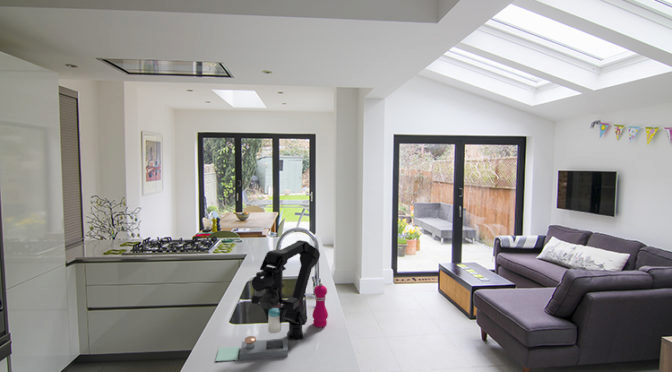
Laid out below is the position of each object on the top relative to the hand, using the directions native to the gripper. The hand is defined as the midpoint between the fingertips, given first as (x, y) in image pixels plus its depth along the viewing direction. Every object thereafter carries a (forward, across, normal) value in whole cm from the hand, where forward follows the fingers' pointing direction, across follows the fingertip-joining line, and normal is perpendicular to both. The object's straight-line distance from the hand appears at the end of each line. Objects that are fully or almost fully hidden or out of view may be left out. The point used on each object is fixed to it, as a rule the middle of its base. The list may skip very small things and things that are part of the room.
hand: (274, 321), depth 140 cm
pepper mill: (+12, +8, +28) cm, 32 cm away
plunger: (+12, -8, -5) cm, 15 cm away
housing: (+12, -3, -2) cm, 13 cm away
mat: (+12, -16, -9) cm, 22 cm away
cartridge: (+4, 0, 0) cm, 4 cm away
